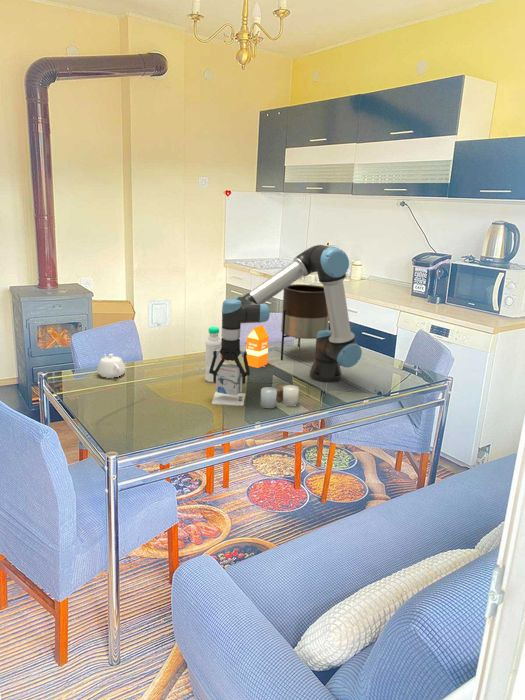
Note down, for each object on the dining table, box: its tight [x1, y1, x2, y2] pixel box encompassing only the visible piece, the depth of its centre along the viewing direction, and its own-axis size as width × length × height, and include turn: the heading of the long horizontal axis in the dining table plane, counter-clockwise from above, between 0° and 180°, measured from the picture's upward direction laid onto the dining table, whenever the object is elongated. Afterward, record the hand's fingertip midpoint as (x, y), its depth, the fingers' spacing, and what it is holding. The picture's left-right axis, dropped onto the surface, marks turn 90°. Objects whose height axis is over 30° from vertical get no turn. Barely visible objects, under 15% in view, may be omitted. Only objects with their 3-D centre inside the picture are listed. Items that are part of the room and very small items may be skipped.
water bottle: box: [204, 326, 222, 383], centre depth 232 cm, size 7×7×25 cm
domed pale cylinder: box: [259, 386, 277, 409], centre depth 208 cm, size 6×6×7 cm
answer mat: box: [211, 391, 246, 407], centre depth 214 cm, size 13×13×1 cm
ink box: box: [217, 362, 242, 396], centre depth 211 cm, size 9×5×12 cm, turn 71°
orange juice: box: [245, 324, 269, 369], centre depth 259 cm, size 8×9×20 cm
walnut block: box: [272, 385, 285, 402], centre depth 217 cm, size 5×5×5 cm
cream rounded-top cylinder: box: [281, 384, 300, 407], centre depth 212 cm, size 6×6×7 cm
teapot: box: [96, 353, 126, 379], centre depth 235 cm, size 20×12×10 cm, turn 34°
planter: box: [280, 283, 331, 361], centre depth 274 cm, size 27×26×38 cm
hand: (229, 390), depth 213 cm, fingers closed on ink box, 9 cm apart
